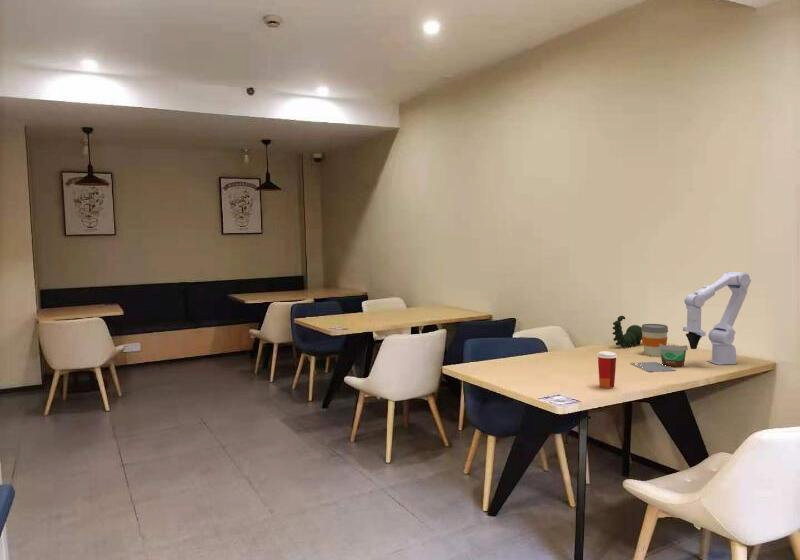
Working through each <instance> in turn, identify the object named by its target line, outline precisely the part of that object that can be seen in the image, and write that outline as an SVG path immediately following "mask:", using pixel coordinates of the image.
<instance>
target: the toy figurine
mask: <svg viewBox="0 0 800 560" xmlns="http://www.w3.org/2000/svg"><path fill="white" fill-rule="evenodd" d="M623 320H626V316H624V315H620V316H618V317H617V319H616V320H615V321H613V322H612V324H613V327H612V330H614V331H613V332H612V335H615V336H614V337H613V342H615V345H616V346H618V347H619V346H620V347H627V348H629V347H630V348H631V347H632V346H634V347H635V346H637V345H636V344H638V345H640V344H641V343H642V331H641V328H642V326H640V325H638V324H632V325H630V326H628V327H627V329H626V331H625V333H624V331H623V330H622V329H623V326H622V323H621V322H622V321H623Z"/></svg>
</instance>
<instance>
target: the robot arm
mask: <svg viewBox="0 0 800 560" xmlns="http://www.w3.org/2000/svg"><path fill="white" fill-rule="evenodd" d="M751 281H752V279H751V278H750V275H749V273H748V272H744V271H743V272H739V271H738V272H737V271H730V270H729V271H726V272H725V273H723V274H722V277H720V278H718V279H717V280H716V281H715V282H713V283H712V284H711V285H703V286H701V288H700V289H698V290H696V291H694V292H693V293H689V294H688V295H686V297H685V299H684V300H683V301H684V304H685V305H686V306H685V307H686V310H687V311H686V314H687V315H686V316H687V317H686V326H683V327H682V331H683V332H687V333H685V336H686V338H687V340H688V343H689V347H690V349H691V350H697V349H698V345H699V343H700V340H701V339H702V337H707V335H706V334H707V333H706V331H704V330H702V307H703V306H704V305H705V302H706V301H708V300H710V299H711V298H712V297H715V294H716V292H718V291H720V290H721V289H724V287H728V289H729V290H730V291H731V293H732V294H731V296H730V298H729V300H728V303H727V305H726V307H725V310H724V312H723V314H722V317H721V319H720V321H719V323H717V324H715V325H713V327H712V329H711V330H710V331H709V332H708V339H709V341H710V343H711V345H712V346H711V350H712V351H711V359H709V360H707V361H708V362H709V363H712V364H715V365H718V366H719V365H720V366H721V365H724V366H725V365H737V364H738V363H737V349H736V347H735V345H734V344H733V343H734V340H735V335H736V331H735V329H734V327H733V326H734V324H735V322H736V319H737V317H738V315H739V312H740V310H741V309H742V306H743V303H744V301H745V299H746V296H747V295H748V289H749V286H750V284H751Z"/></svg>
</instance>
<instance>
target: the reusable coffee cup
mask: <svg viewBox="0 0 800 560" xmlns="http://www.w3.org/2000/svg"><path fill="white" fill-rule="evenodd" d="M641 327H642V328H641V331H642V340H641V343H642V346H643V349H644V350H643V351H644V355H645V354H646V355H645V356H648V355H651V356H650V357H661V350H660V348H659V344H662V345H667V343H668V332H669V328H668V325H666V324H659V323H644V324H643V323H642V324H641Z"/></svg>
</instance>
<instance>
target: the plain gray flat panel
mask: <svg viewBox="0 0 800 560" xmlns="http://www.w3.org/2000/svg"><path fill="white" fill-rule="evenodd" d="M630 363H631V364H630V365H632V364H633V365H632V366H634V365H635V363H636V362H630ZM637 363H638V364H637V365H638V366H637V365H636V366H637V367H636V366H635V367H636V368H638V367H640V368H642V367H643V368H642V369H641V370H643V369H644V370H643V371H645V370H646V371H645V372H647V371H648V372H647V373H653V372H652V371H662V372H676V371H677V370H676V369H674V368H673V367H667V366H665V365H662V363H659V362H656V361H646V362H645V361H642V362H637ZM641 364H642V365H641ZM640 365H641V366H640ZM640 368H639V369H640Z"/></svg>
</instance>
